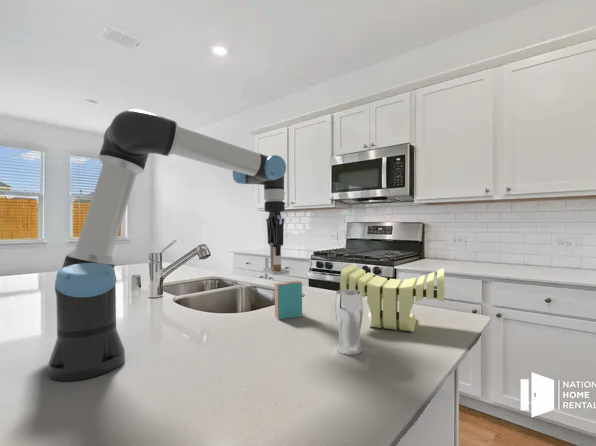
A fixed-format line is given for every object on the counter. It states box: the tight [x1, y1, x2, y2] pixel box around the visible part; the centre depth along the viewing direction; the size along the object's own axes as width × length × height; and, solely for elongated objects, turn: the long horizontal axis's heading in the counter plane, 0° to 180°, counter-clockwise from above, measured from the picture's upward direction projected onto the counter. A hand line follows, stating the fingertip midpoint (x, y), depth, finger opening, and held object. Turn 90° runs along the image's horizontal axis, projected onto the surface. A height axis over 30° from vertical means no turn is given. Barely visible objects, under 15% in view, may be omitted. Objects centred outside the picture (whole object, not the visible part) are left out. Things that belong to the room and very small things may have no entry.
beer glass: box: [334, 289, 364, 356], centre depth 85 cm, size 7×7×15 cm
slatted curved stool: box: [339, 263, 445, 333], centre depth 106 cm, size 30×16×18 cm, turn 67°
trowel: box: [262, 243, 290, 276], centre depth 124 cm, size 12×6×11 cm, turn 23°
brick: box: [274, 280, 303, 320], centre depth 115 cm, size 3×9×12 cm, turn 114°
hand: (275, 263), depth 124 cm, fingers closed on trowel, 3 cm apart
